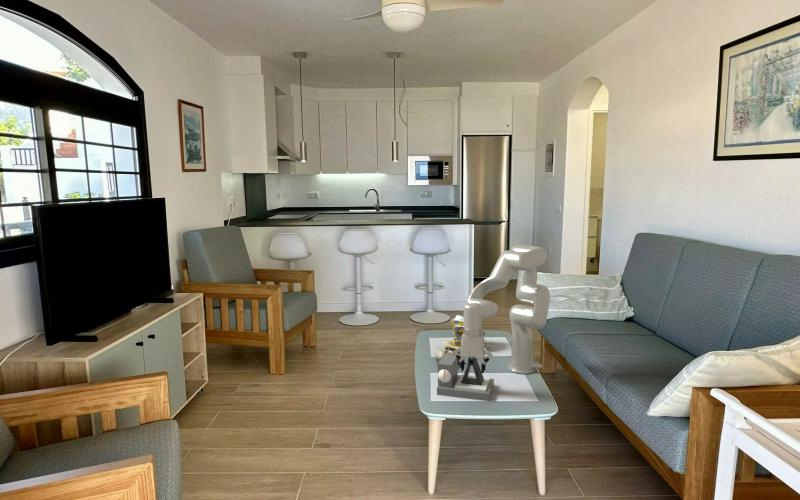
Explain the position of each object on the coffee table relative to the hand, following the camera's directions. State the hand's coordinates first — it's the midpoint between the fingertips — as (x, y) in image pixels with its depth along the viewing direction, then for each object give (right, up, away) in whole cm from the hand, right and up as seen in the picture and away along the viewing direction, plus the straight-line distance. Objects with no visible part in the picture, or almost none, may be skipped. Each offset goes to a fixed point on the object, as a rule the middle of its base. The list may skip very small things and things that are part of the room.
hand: (472, 370), depth 203 cm
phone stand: (0, -5, +1) cm, 5 cm away
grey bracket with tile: (-3, -9, +2) cm, 10 cm away
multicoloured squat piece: (+4, -2, +55) cm, 55 cm away
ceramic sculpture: (-8, -5, +33) cm, 34 cm away
